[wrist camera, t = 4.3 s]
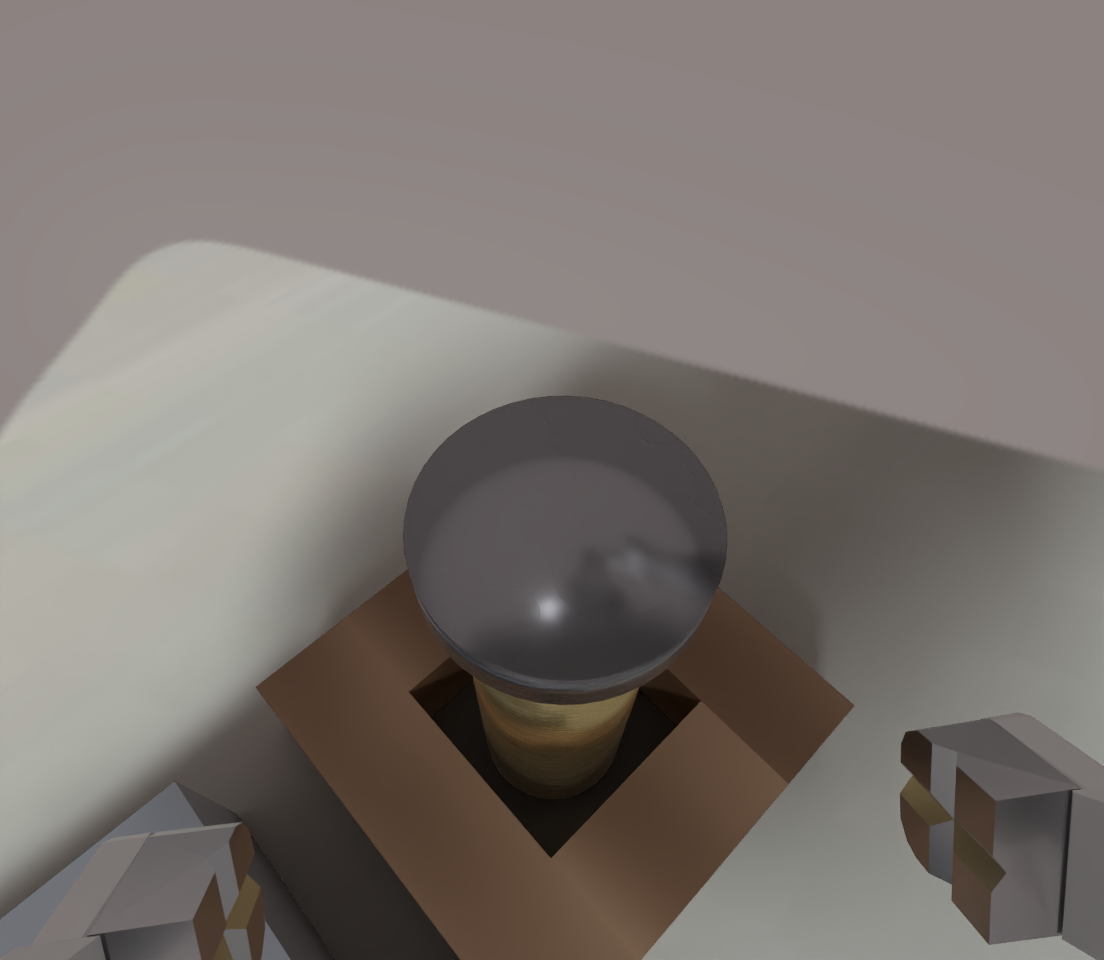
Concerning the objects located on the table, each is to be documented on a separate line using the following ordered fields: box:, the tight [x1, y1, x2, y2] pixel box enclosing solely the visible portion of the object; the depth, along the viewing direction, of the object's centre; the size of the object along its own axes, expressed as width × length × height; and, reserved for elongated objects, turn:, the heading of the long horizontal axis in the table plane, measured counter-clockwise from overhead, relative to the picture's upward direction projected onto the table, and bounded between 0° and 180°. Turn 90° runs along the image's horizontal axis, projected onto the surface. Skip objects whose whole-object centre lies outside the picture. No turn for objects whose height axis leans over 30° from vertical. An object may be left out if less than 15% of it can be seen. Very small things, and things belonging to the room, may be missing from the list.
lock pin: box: [403, 396, 727, 799], centre depth 14 cm, size 4×4×10 cm
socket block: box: [256, 570, 854, 960], centre depth 17 cm, size 9×9×2 cm
